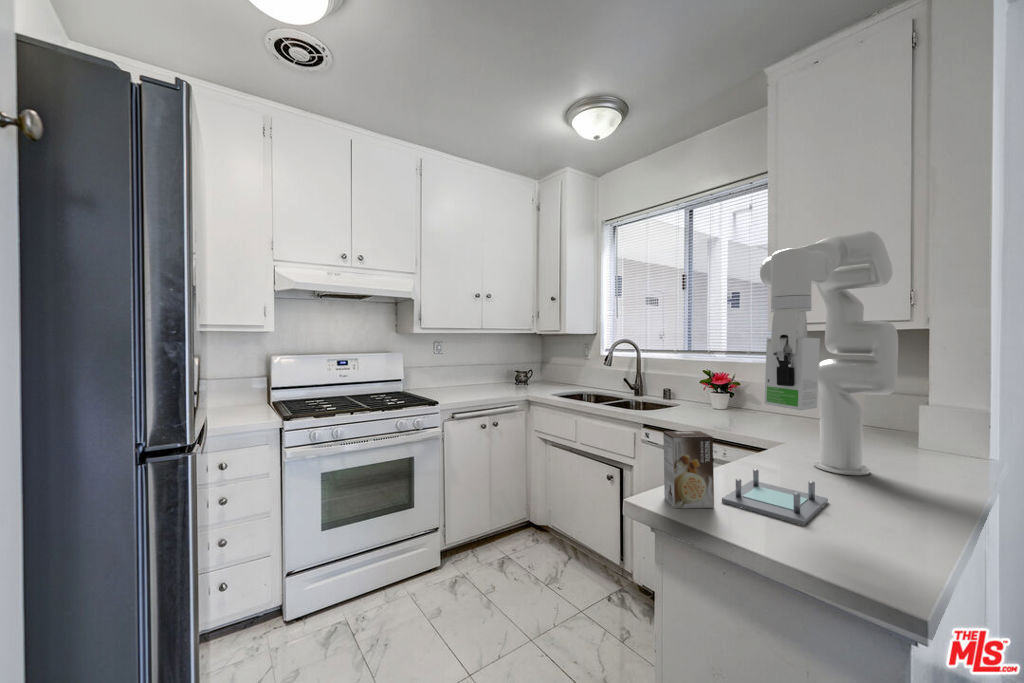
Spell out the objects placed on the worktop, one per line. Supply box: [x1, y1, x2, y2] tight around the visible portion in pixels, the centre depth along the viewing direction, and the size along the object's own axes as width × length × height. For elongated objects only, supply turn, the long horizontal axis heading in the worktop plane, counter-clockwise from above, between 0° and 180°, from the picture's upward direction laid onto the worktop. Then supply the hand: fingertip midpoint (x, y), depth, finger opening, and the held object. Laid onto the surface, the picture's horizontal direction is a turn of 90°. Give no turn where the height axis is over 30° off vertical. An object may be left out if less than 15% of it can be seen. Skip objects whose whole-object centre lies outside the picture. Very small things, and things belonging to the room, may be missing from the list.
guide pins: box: [735, 468, 816, 514], centre depth 95 cm, size 12×13×4 cm
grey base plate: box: [721, 479, 829, 527], centre depth 95 cm, size 18×16×1 cm
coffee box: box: [662, 430, 715, 509], centre depth 96 cm, size 9×6×16 cm
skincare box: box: [764, 336, 821, 411], centre depth 93 cm, size 8×7×16 cm
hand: (791, 383), depth 93 cm, fingers closed on skincare box, 7 cm apart
